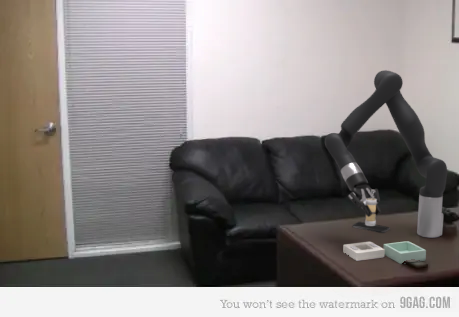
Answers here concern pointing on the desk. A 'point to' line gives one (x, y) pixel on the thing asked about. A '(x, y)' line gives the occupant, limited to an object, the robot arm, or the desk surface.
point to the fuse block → (363, 251)
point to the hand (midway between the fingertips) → (374, 214)
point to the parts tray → (404, 251)
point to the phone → (371, 227)
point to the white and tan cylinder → (372, 205)
